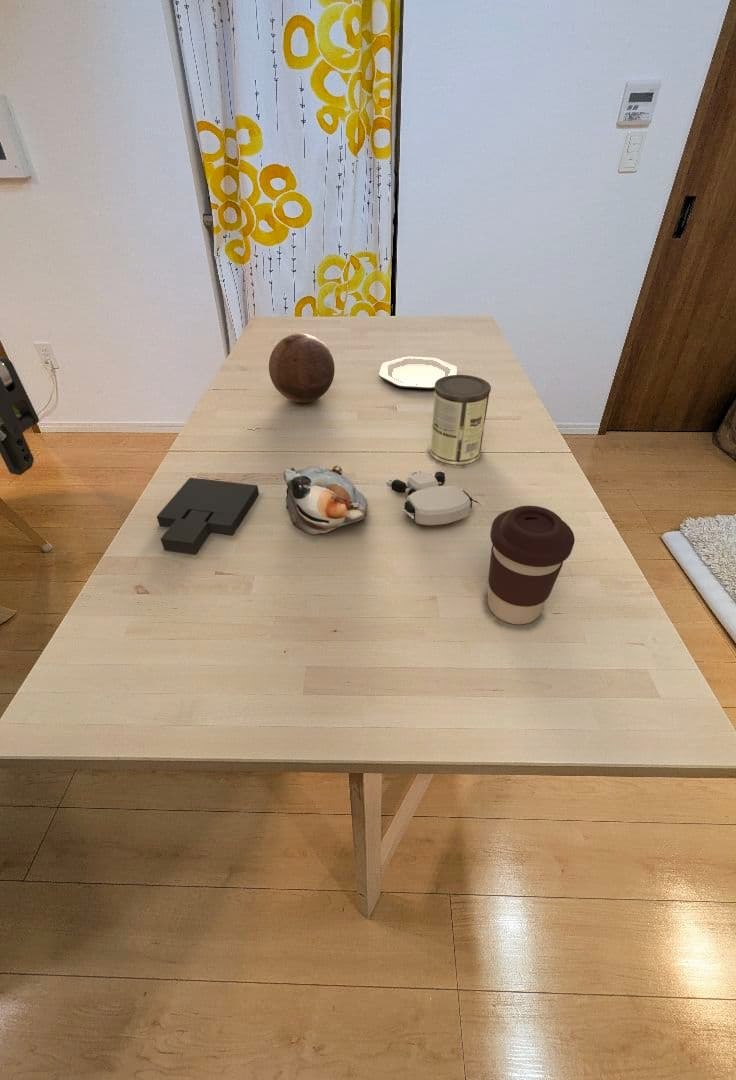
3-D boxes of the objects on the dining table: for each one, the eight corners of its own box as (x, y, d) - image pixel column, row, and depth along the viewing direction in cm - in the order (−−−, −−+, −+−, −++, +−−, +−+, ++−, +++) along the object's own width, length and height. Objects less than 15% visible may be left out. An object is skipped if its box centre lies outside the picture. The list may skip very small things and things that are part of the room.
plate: (456, 364, 141) (457, 358, 140) (455, 394, 126) (456, 388, 125) (385, 360, 143) (385, 355, 142) (375, 389, 128) (375, 384, 127)
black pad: (164, 550, 81) (160, 538, 80) (188, 518, 88) (185, 507, 86) (196, 554, 81) (192, 543, 79) (218, 522, 87) (215, 511, 85)
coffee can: (443, 434, 110) (450, 370, 101) (488, 448, 106) (499, 382, 97) (419, 455, 104) (424, 388, 95) (466, 470, 99) (476, 401, 90)
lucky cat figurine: (381, 505, 90) (388, 466, 77) (345, 561, 86) (347, 529, 73) (308, 465, 92) (304, 420, 79) (270, 518, 88) (258, 479, 75)
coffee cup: (539, 644, 67) (567, 558, 57) (467, 616, 71) (482, 530, 61) (557, 596, 74) (586, 511, 64) (490, 573, 77) (508, 489, 68)
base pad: (159, 526, 86) (156, 516, 85) (192, 486, 95) (189, 477, 94) (232, 535, 84) (230, 526, 83) (259, 494, 93) (257, 485, 92)
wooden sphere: (348, 398, 124) (347, 334, 114) (301, 419, 116) (295, 352, 106) (307, 381, 132) (302, 320, 122) (260, 399, 124) (250, 335, 114)
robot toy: (382, 494, 94) (413, 539, 83) (381, 472, 92) (414, 516, 80) (443, 483, 97) (481, 524, 86) (444, 461, 95) (484, 501, 83)
